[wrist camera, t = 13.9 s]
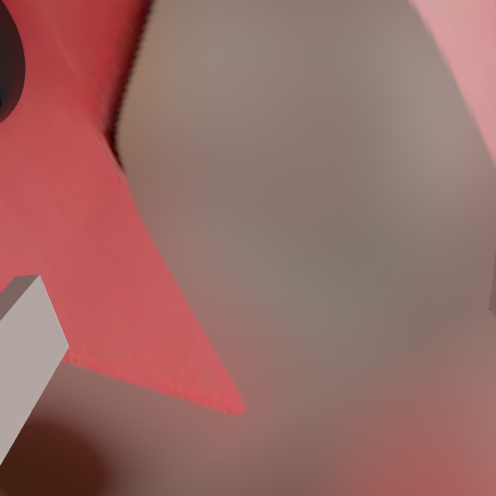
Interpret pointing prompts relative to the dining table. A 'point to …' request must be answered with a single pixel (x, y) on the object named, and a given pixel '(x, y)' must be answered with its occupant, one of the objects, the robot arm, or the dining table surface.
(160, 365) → the dining table surface
